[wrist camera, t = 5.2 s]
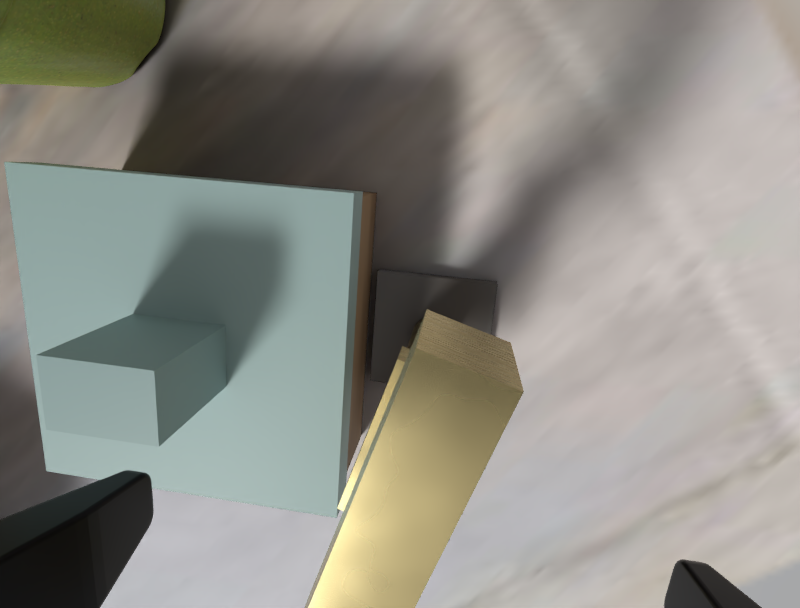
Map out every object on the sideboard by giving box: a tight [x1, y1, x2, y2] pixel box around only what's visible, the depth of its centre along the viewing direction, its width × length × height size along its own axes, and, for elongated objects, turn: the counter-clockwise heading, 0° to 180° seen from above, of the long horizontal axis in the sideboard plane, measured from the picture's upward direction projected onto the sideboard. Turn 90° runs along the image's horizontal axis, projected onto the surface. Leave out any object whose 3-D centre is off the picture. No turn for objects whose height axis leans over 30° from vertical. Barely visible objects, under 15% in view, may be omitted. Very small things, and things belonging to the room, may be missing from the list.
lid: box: [4, 162, 363, 518], centre depth 14 cm, size 10×10×5 cm
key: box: [305, 310, 524, 608], centre depth 13 cm, size 8×2×11 cm, turn 160°
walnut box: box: [347, 192, 498, 470], centre depth 18 cm, size 15×10×4 cm
